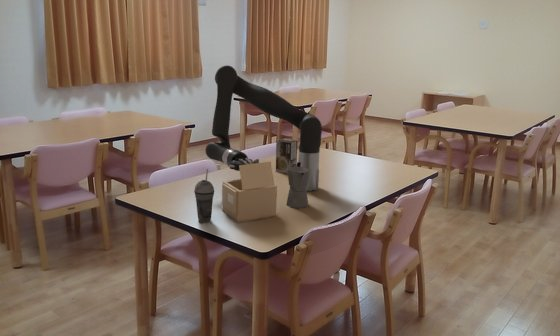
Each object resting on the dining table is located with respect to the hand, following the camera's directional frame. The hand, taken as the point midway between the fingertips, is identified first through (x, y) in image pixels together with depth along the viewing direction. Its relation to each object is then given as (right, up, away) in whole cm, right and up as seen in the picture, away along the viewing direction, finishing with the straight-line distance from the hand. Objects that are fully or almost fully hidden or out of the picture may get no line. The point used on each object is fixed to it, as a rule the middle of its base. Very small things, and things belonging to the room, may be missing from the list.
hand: (255, 169), depth 187 cm
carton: (-3, -17, +8) cm, 19 cm away
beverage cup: (-19, -19, -1) cm, 27 cm away
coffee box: (+12, -2, +70) cm, 71 cm away
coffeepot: (+16, -15, +22) cm, 31 cm away
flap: (+1, -7, -1) cm, 8 cm away
